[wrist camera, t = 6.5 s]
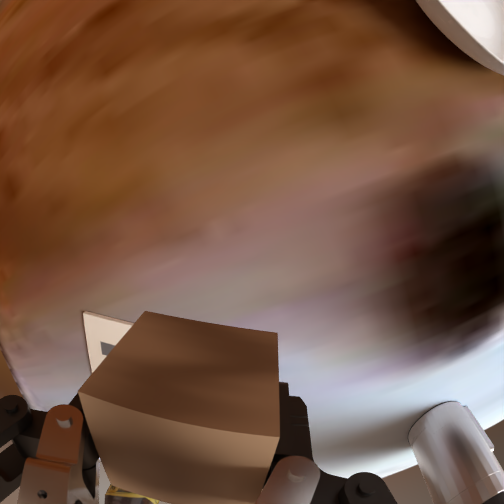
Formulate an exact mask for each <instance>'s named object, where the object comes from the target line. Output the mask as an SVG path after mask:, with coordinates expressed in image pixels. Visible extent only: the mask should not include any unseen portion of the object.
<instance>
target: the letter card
mask: <svg viewBox="0 0 504 504" xmlns="http://www.w3.org/2000/svg"><path fill="white" fill-rule="evenodd" d="M83 318H84V326H85V333H86V340H87V346H88V353H89V358H90V364H91V369H92V373H93V372H94V371H95V370H96V368H97V367H98V366H99V365H100V363H101V362H102V361H103V360H104V359H105V357H106V356H107V355H108V354H109V353H110V351H111V350H112V349H113V348H114V347H115V346H116V344H117V343H118V342H119V341H120V340H121V338H122V337H123V336H124V335H125V334H126V333H127V331H128V330H129V329H130V328H131V327H132V326H133V324H134V323H131V322H127V321H123V320H119V319H115V318H111V317H107V316H103V315H99V314H95V313H92V312H88V311H85V312H84V313H83Z"/></svg>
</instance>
